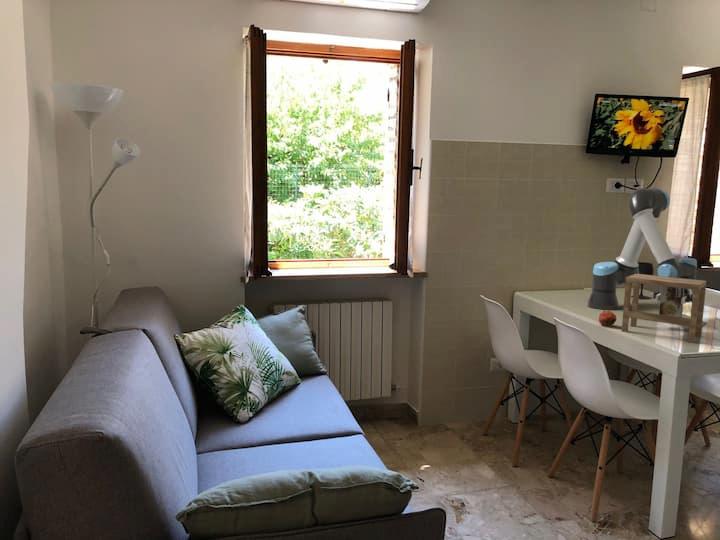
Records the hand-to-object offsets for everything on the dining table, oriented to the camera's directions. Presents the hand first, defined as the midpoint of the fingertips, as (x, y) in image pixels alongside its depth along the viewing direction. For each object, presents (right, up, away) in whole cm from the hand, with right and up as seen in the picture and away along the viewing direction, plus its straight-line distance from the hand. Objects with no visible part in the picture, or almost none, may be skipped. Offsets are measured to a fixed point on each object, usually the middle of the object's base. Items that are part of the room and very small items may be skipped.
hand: (669, 299), depth 254 cm
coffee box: (+3, -9, +5) cm, 10 cm away
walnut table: (-6, -14, -4) cm, 16 cm away
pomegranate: (-24, -13, +9) cm, 28 cm away
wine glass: (+25, -3, +77) cm, 81 cm away
